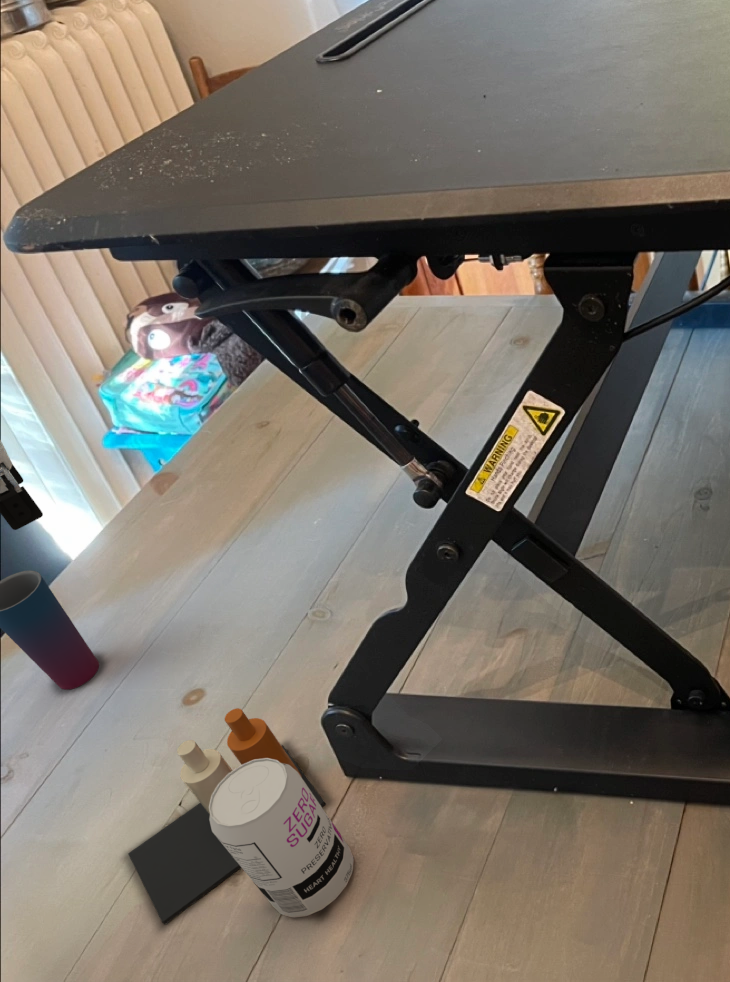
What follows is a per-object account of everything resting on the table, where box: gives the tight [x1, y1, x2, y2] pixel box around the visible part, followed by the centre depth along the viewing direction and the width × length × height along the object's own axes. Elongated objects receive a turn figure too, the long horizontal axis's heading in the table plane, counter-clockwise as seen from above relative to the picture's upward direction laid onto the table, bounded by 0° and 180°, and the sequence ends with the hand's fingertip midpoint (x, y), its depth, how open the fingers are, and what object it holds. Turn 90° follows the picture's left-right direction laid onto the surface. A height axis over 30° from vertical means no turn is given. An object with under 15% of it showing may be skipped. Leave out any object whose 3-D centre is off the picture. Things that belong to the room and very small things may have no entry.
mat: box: [127, 744, 327, 925], centre depth 110 cm, size 18×11×1 cm, turn 132°
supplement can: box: [209, 758, 355, 918], centre depth 99 cm, size 8×8×15 cm
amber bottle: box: [224, 707, 302, 778], centre depth 110 cm, size 4×4×12 cm
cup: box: [0, 570, 100, 691], centre depth 129 cm, size 7×7×15 cm
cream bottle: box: [176, 739, 234, 814], centre depth 107 cm, size 4×4×12 cm
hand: (19, 504), depth 119 cm, fingers open, 9 cm apart
